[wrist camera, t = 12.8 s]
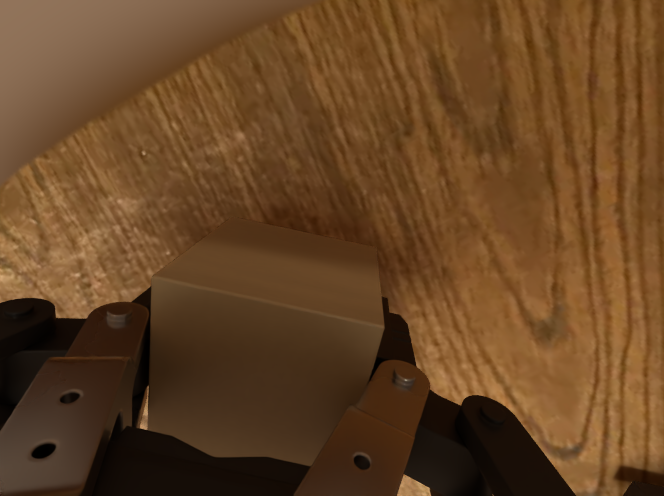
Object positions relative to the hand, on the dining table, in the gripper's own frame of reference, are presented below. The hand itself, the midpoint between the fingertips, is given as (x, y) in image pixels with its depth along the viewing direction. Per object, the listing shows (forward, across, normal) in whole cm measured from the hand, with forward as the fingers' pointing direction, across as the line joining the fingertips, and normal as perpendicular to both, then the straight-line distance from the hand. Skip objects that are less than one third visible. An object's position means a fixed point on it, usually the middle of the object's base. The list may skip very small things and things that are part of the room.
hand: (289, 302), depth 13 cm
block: (0, 0, 0) cm, 0 cm away
